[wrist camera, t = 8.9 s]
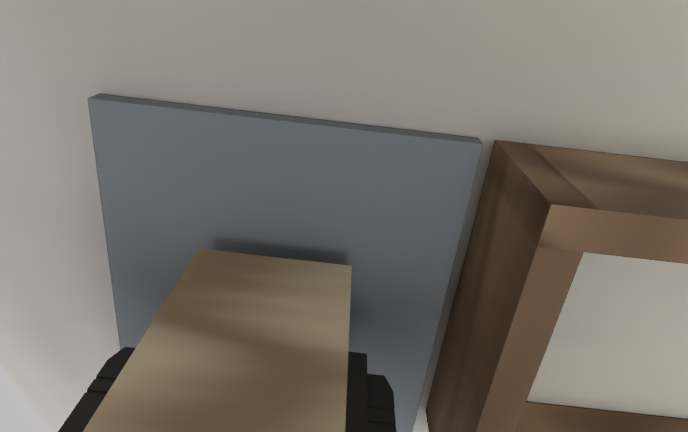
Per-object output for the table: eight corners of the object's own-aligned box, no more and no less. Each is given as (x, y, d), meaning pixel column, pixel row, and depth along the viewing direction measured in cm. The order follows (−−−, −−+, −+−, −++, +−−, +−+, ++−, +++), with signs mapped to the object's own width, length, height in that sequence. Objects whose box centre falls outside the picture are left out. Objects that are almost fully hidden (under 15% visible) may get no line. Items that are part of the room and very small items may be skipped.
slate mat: (135, 396, 19) (128, 409, 18) (98, 93, 13) (87, 98, 13) (408, 426, 19) (410, 439, 18) (478, 138, 14) (483, 144, 13)
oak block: (202, 364, 16) (66, 684, 8) (198, 248, 14) (15, 536, 6) (336, 379, 16) (313, 709, 9) (351, 265, 14) (339, 569, 7)
